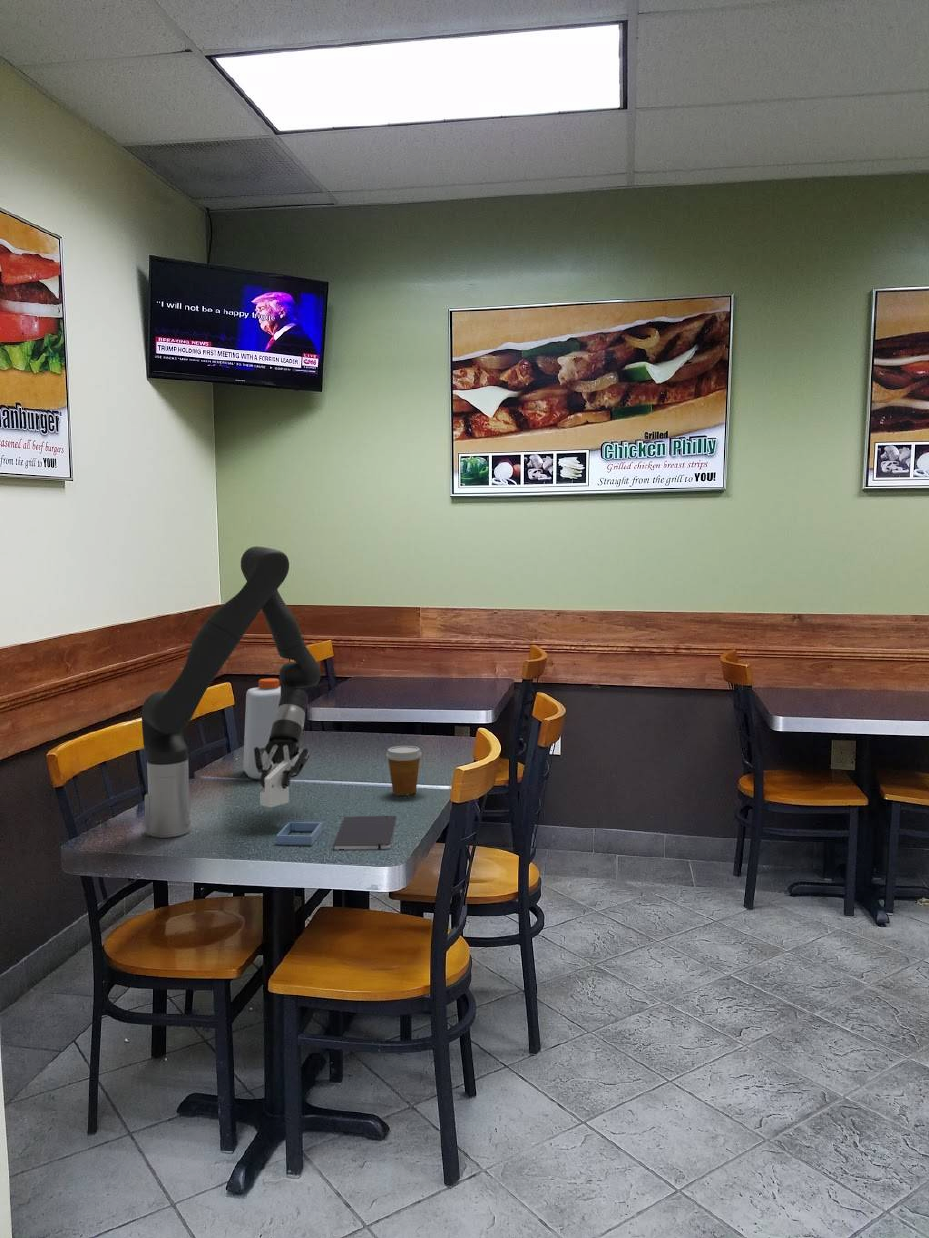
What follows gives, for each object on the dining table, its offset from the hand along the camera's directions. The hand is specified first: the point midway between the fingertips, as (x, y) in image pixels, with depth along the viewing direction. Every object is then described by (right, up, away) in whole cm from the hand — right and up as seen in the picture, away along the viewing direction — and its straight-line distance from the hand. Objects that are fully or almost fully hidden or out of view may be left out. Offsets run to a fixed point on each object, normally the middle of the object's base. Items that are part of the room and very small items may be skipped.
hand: (273, 786), depth 213 cm
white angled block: (0, -5, +2) cm, 5 cm away
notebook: (+23, -11, -5) cm, 25 cm away
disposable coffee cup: (+29, -8, +30) cm, 43 cm away
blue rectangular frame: (+7, -11, -7) cm, 15 cm away
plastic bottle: (-12, -6, +53) cm, 55 cm away
